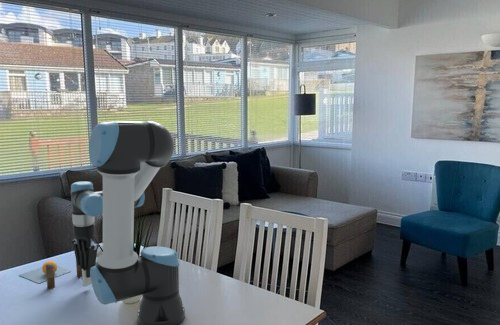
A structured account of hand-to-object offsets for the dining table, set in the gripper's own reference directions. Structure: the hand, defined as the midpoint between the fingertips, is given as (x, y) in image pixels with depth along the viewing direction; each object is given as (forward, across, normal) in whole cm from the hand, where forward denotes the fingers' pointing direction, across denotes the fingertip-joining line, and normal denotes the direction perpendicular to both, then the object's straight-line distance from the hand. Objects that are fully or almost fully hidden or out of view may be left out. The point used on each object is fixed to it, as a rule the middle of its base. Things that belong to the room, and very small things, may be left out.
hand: (87, 284), depth 153 cm
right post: (+2, +13, -6) cm, 15 cm away
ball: (-1, +25, -1) cm, 25 cm away
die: (+2, +17, -22) cm, 28 cm away
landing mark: (+2, +27, 0) cm, 27 cm away
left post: (+2, +13, +6) cm, 15 cm away
